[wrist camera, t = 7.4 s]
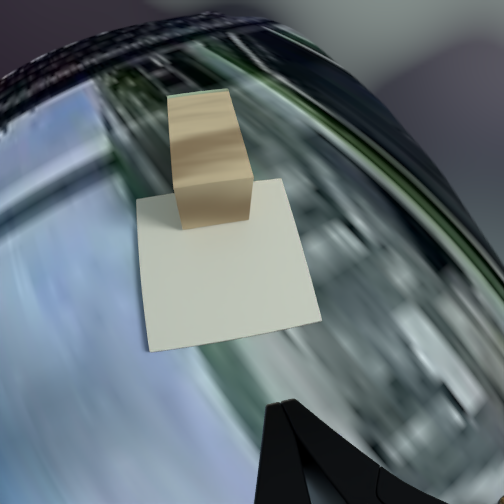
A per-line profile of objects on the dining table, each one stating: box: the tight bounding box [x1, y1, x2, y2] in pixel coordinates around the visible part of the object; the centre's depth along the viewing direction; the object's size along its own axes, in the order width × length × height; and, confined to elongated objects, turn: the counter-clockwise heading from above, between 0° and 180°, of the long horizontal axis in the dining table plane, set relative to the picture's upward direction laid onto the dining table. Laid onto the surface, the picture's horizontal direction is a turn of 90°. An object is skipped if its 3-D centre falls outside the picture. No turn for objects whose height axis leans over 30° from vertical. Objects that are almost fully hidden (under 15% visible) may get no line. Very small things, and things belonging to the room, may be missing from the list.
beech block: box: [167, 89, 254, 230], centre depth 24 cm, size 5×5×10 cm
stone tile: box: [136, 178, 322, 352], centre depth 23 cm, size 12×12×1 cm
